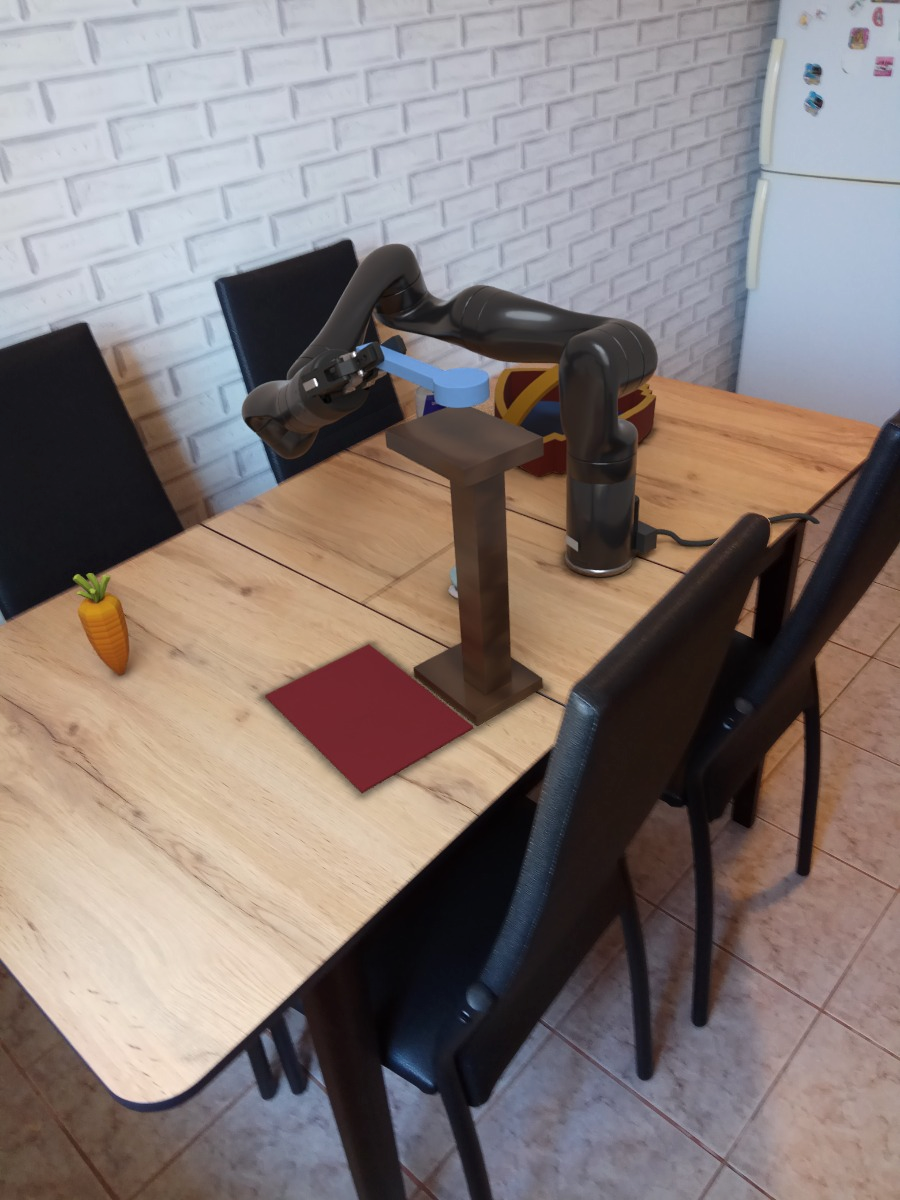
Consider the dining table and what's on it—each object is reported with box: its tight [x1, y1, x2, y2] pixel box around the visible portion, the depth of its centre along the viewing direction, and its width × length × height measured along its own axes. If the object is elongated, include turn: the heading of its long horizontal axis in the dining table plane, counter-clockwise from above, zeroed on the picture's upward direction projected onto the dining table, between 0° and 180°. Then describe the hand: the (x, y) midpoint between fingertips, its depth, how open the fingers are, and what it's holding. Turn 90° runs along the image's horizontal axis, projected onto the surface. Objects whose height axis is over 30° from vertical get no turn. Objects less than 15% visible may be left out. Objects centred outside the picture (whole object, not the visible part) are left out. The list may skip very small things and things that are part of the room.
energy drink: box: [414, 385, 447, 418], centre depth 161 cm, size 5×5×12 cm
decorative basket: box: [493, 364, 657, 478], centre depth 163 cm, size 34×29×15 cm
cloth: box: [264, 643, 474, 794], centre depth 107 cm, size 15×21×1 cm
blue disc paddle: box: [356, 341, 491, 408], centre depth 95 cm, size 5×20×2 cm, turn 38°
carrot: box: [72, 572, 130, 676], centre depth 112 cm, size 5×5×15 cm
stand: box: [384, 406, 543, 727], centre depth 102 cm, size 10×13×32 cm
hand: (389, 347), depth 97 cm, fingers closed on blue disc paddle, 2 cm apart
